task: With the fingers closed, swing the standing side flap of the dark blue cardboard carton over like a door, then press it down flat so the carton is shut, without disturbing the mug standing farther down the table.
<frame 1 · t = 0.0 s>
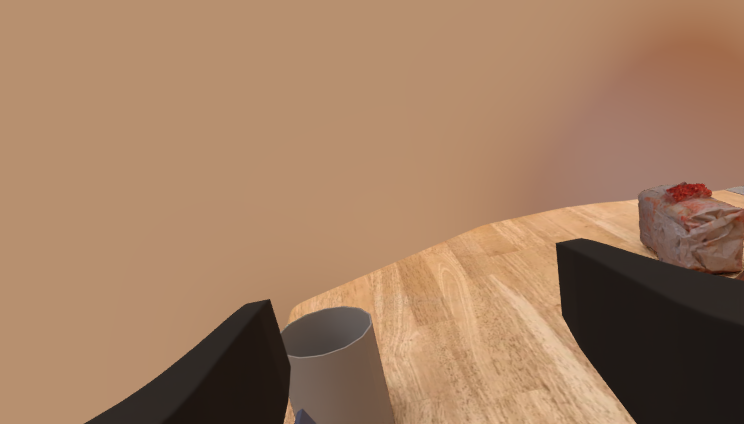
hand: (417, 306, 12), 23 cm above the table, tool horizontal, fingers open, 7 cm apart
food item: (687, 261, 61), on the table
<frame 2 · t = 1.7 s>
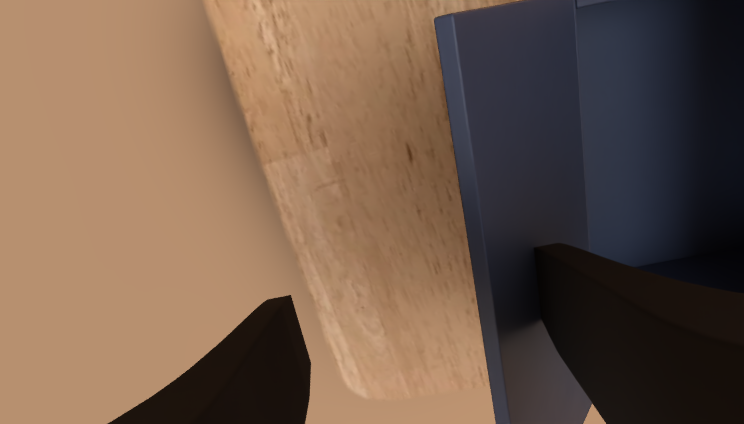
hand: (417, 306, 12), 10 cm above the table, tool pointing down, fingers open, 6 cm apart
carton: (659, 134, 21), on the table
flap: (543, 266, 12), point 10 cm above the table, hinge at 129.9°, touching gripper
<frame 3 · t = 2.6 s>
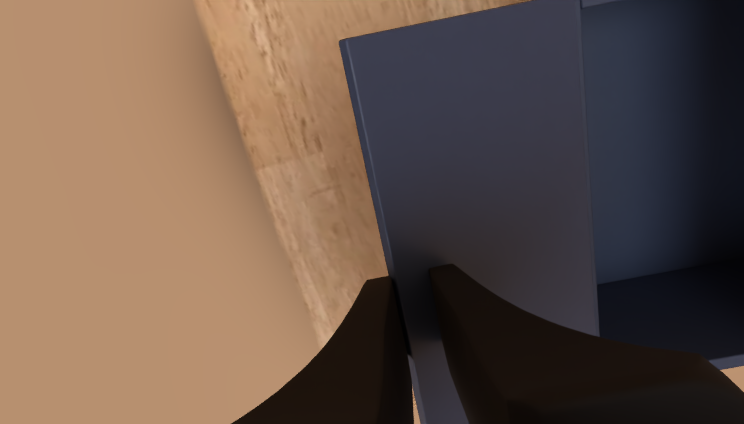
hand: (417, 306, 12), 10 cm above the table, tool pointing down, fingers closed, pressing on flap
carton: (665, 140, 20), on the table
flap: (500, 269, 13), point 9 cm above the table, hinge at 153.3°, touching gripper
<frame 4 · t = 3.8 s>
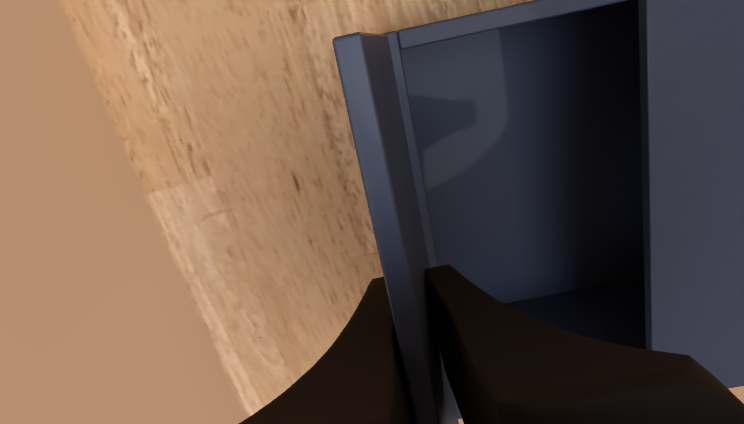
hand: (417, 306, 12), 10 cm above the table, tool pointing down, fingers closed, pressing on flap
carton: (551, 164, 21), on the table
flap: (424, 325, 11), point 10 cm above the table, hinge at 95.9°, touching gripper
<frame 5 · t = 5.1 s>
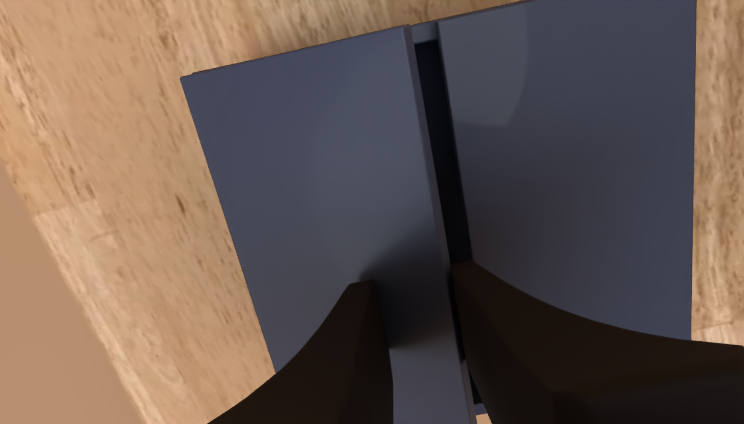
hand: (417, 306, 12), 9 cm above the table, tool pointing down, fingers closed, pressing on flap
carton: (433, 186, 21), on the table
flap: (342, 305, 13), point 9 cm above the table, hinge at 30.2°, touching gripper
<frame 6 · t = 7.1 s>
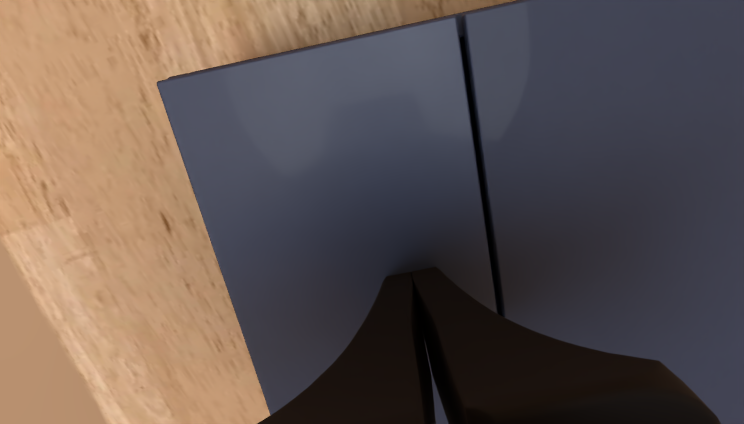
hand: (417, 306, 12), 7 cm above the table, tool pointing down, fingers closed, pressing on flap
carton: (447, 202, 19), on the table
flap: (368, 313, 12), point 7 cm above the table, hinge at -0.4°, touching gripper
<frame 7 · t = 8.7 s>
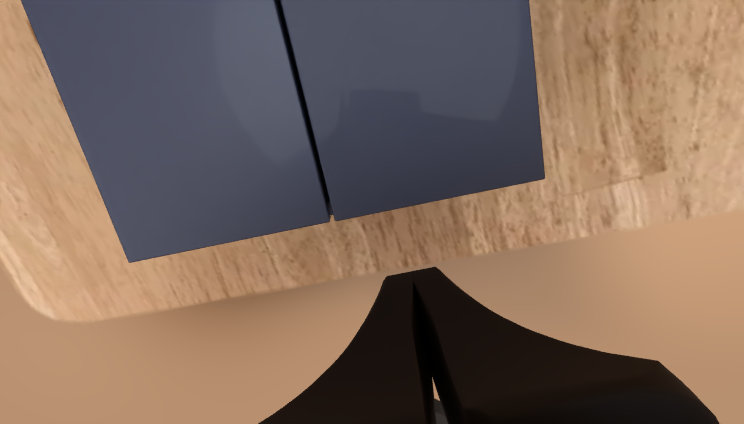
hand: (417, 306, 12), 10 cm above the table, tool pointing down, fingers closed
carton: (306, 11, 19), on the table
flap: (157, 19, 13), point 7 cm above the table, hinge at -0.5°
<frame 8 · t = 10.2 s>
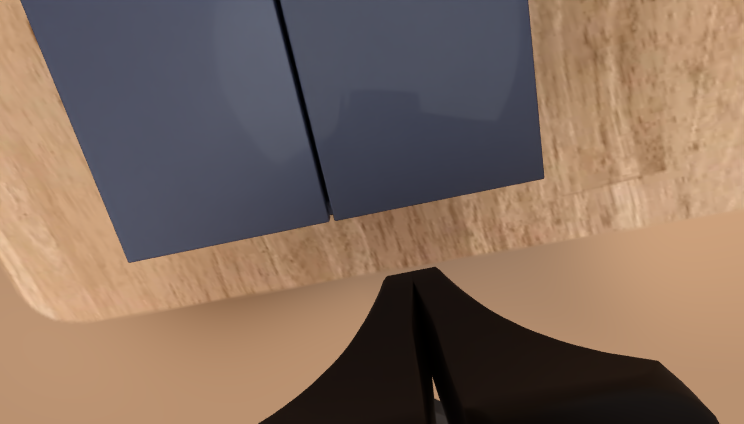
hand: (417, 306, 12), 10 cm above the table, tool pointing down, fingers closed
carton: (305, 11, 19), on the table
flap: (156, 20, 13), point 7 cm above the table, hinge at -0.5°
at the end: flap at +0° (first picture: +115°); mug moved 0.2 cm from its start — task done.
